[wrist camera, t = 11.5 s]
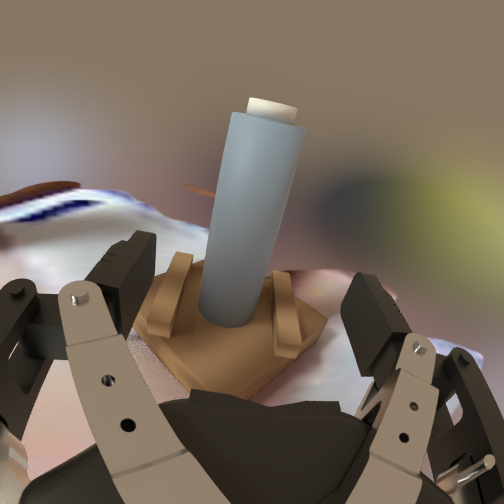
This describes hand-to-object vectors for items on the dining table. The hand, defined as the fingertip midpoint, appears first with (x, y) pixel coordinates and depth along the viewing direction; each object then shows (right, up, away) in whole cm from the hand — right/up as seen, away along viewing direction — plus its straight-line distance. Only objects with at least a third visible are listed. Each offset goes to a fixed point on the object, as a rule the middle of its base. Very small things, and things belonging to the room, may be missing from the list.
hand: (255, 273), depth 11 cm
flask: (-2, -4, +14) cm, 15 cm away
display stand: (-3, -7, +16) cm, 17 cm away
